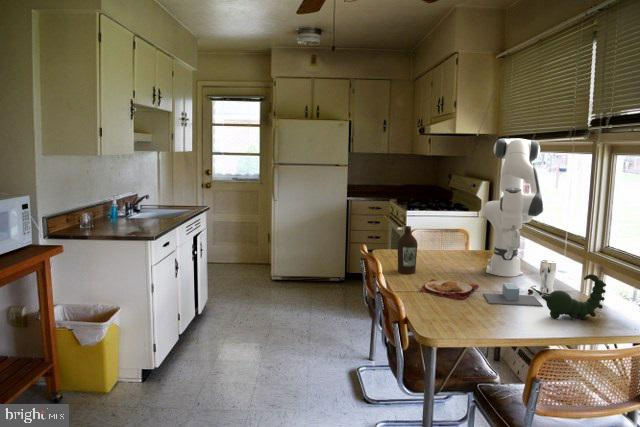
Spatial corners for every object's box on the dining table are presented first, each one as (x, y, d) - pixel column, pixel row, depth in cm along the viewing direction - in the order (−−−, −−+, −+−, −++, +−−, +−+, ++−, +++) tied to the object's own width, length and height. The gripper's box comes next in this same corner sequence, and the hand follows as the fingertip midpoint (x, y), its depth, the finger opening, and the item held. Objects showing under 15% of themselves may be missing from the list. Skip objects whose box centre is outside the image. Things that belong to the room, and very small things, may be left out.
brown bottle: (394, 269, 274) (395, 225, 271) (412, 269, 275) (414, 224, 272) (399, 274, 263) (401, 228, 260) (419, 274, 265) (420, 227, 262)
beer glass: (545, 294, 229) (547, 262, 227) (535, 290, 236) (537, 259, 234) (557, 293, 231) (560, 262, 229) (547, 289, 238) (549, 258, 236)
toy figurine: (590, 317, 204) (532, 313, 202) (597, 272, 202) (539, 267, 199) (605, 325, 195) (544, 321, 192) (613, 278, 192) (551, 273, 190)
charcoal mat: (483, 294, 229) (483, 293, 229) (533, 296, 226) (533, 295, 226) (488, 303, 215) (489, 302, 215) (542, 306, 212) (542, 305, 212)
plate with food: (479, 288, 241) (479, 281, 241) (464, 301, 219) (464, 293, 219) (431, 282, 254) (431, 275, 253) (412, 293, 232) (413, 286, 232)
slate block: (502, 282, 228) (507, 288, 218) (514, 283, 228) (519, 289, 218) (502, 293, 229) (506, 299, 219) (513, 293, 228) (518, 300, 218)
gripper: (524, 228, 214) (522, 259, 216) (513, 220, 234) (512, 249, 236) (509, 228, 215) (507, 259, 217) (499, 220, 235) (498, 249, 237)
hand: (509, 254), depth 227 cm, fingers closed
